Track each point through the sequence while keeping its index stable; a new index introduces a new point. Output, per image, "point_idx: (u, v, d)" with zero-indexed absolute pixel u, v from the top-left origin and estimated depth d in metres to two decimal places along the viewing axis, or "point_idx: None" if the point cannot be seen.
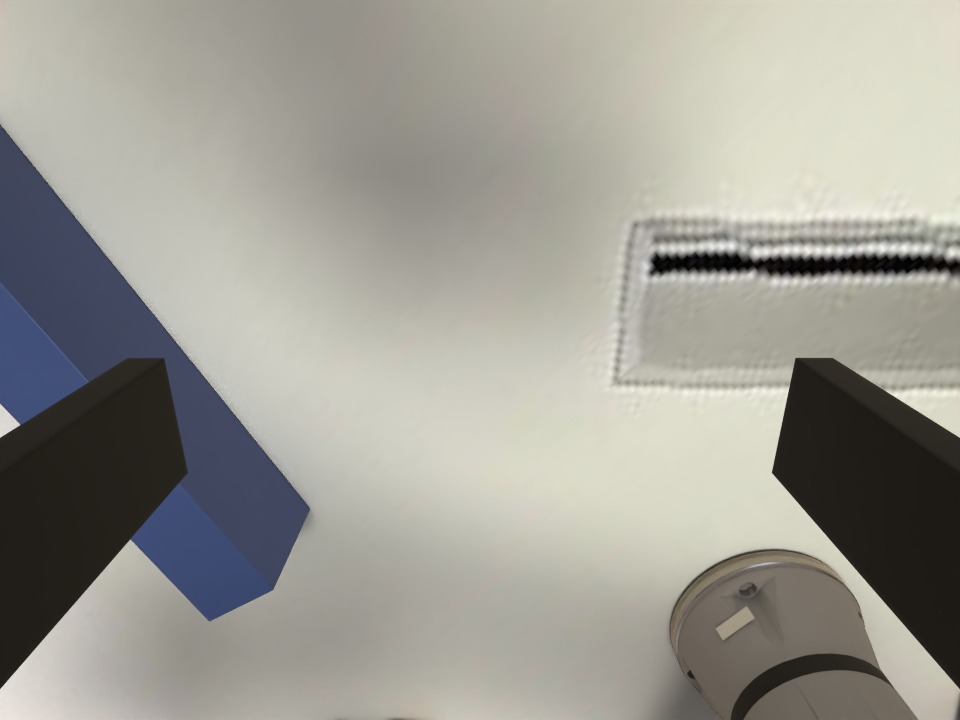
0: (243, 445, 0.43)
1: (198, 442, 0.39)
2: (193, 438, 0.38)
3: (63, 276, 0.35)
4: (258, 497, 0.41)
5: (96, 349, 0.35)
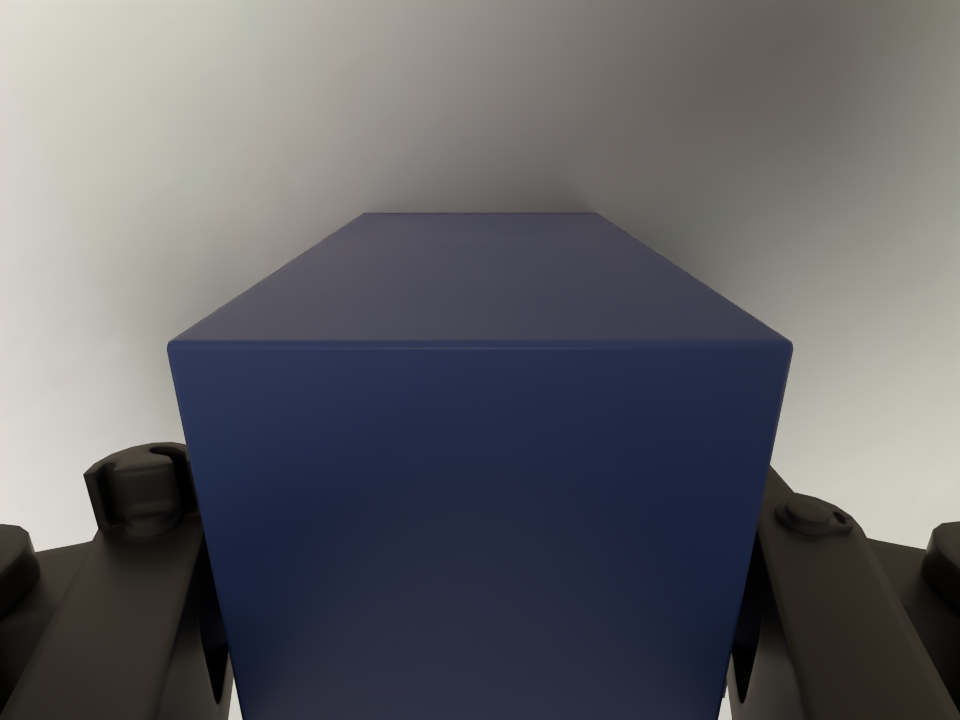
0: None
1: None
2: None
3: None
4: None
5: None
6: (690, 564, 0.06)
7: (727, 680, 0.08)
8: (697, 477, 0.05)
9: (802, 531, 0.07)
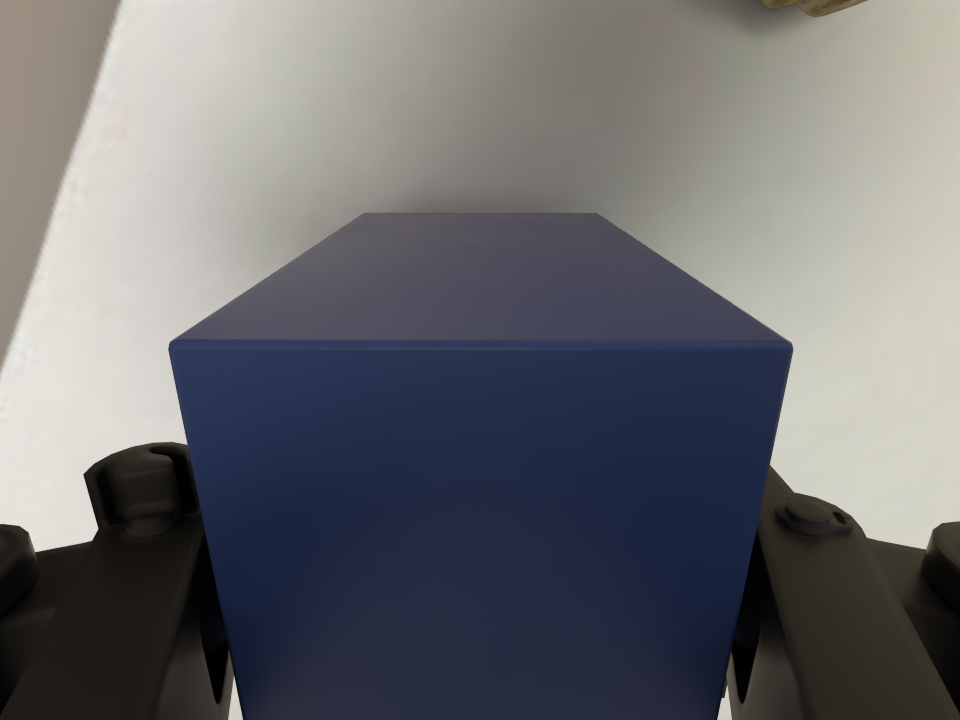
0: None
1: None
2: None
3: None
4: None
5: None
6: (690, 564, 0.06)
7: (727, 680, 0.08)
8: (696, 477, 0.05)
9: (802, 531, 0.07)
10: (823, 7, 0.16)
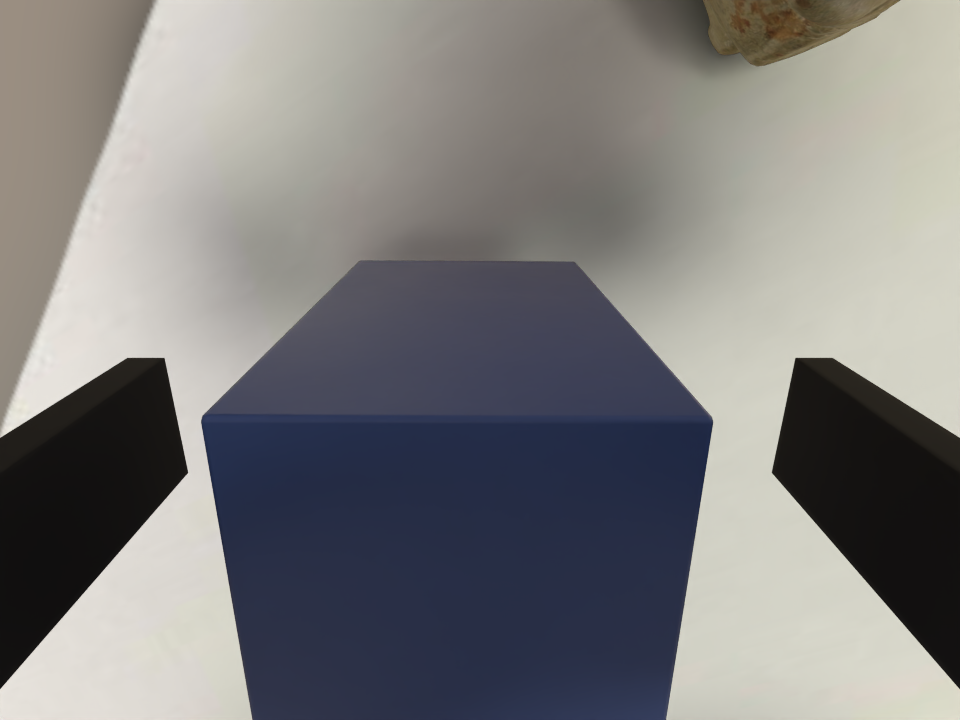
0: None
1: None
2: None
3: None
4: None
5: None
6: (636, 596, 0.07)
7: None
8: (638, 526, 0.07)
9: None
10: (762, 59, 0.18)
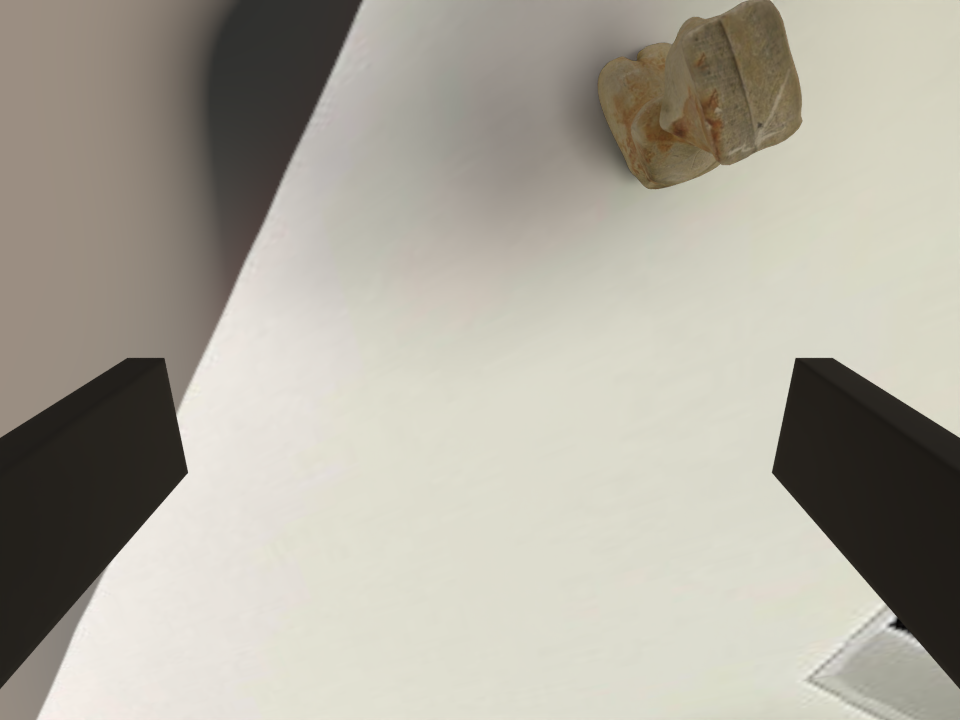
0: None
1: None
2: None
3: None
4: None
5: None
6: None
7: None
8: None
9: None
10: (650, 188, 0.32)
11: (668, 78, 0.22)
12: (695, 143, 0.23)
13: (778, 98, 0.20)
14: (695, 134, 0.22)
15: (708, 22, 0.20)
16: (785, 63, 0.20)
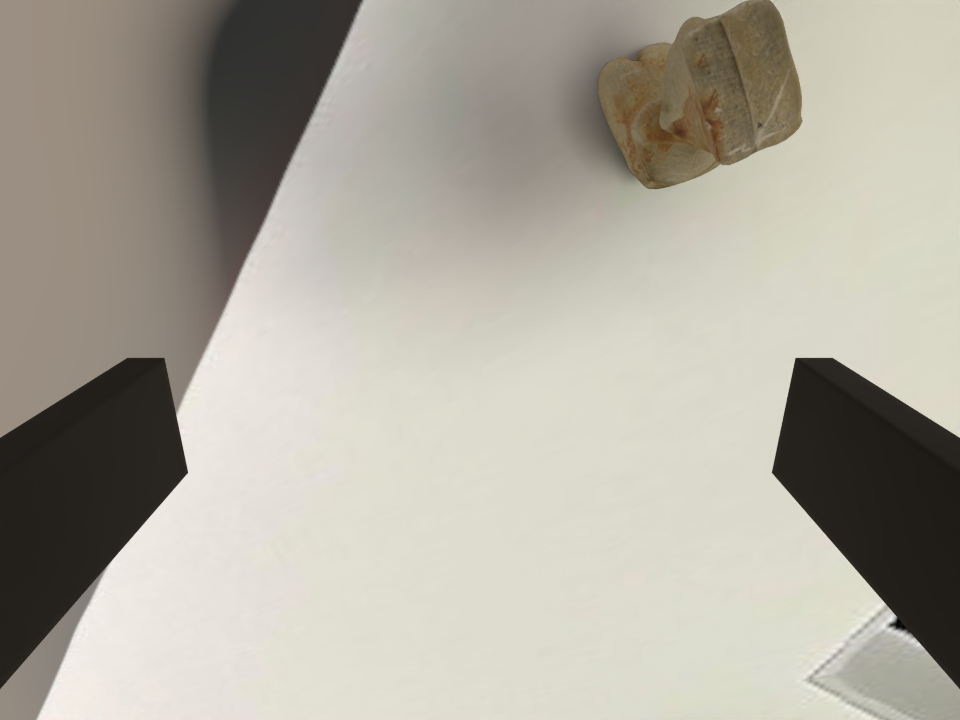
0: None
1: None
2: None
3: None
4: None
5: None
6: None
7: None
8: None
9: None
10: (650, 188, 0.32)
11: (668, 78, 0.22)
12: (695, 143, 0.23)
13: (778, 98, 0.20)
14: (695, 134, 0.22)
15: (708, 22, 0.20)
16: (785, 63, 0.20)
